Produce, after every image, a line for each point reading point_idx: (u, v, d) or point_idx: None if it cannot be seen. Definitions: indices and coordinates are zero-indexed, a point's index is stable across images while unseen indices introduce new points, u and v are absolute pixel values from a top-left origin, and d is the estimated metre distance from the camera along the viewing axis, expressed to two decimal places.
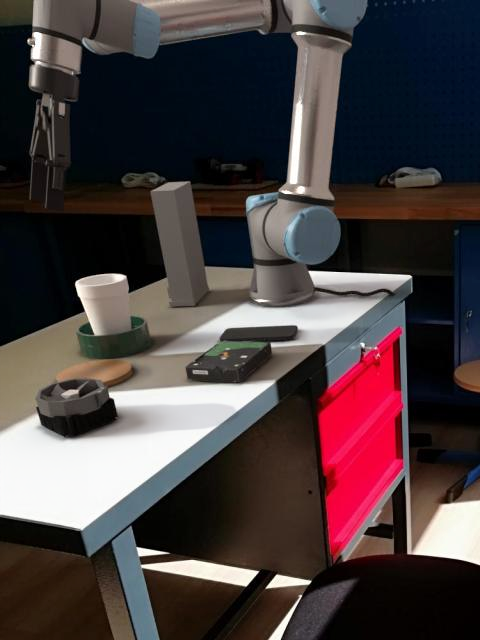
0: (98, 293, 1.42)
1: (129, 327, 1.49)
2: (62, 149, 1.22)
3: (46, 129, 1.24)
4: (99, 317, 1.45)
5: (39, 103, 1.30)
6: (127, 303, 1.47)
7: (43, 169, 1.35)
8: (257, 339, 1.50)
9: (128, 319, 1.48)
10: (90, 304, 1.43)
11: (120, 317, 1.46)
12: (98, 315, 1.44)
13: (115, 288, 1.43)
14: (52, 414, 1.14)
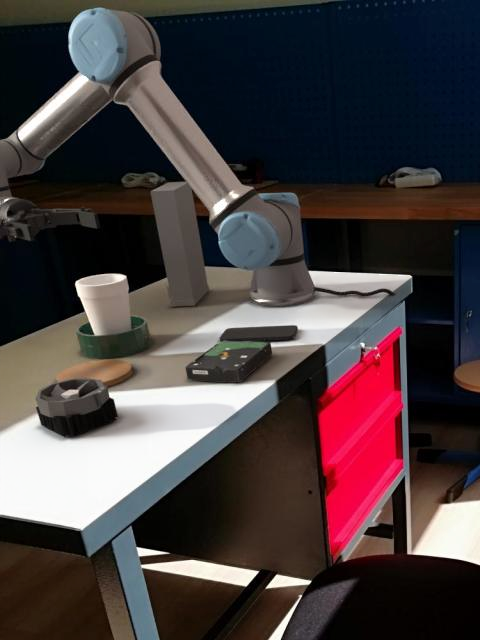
0: (98, 293, 1.42)
1: (129, 327, 1.49)
2: None
3: None
4: (99, 317, 1.45)
5: None
6: (127, 303, 1.47)
7: (81, 216, 1.53)
8: (257, 339, 1.50)
9: (128, 319, 1.48)
10: (90, 304, 1.43)
11: (120, 317, 1.46)
12: (98, 315, 1.44)
13: (115, 288, 1.43)
14: (52, 414, 1.14)
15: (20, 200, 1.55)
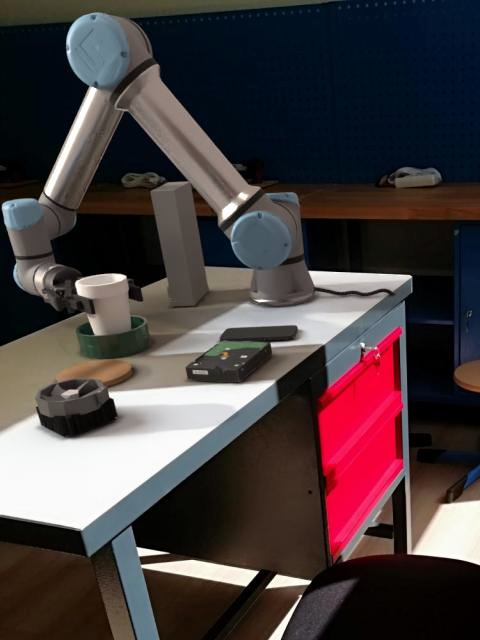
0: (98, 293, 1.42)
1: (129, 327, 1.49)
2: (53, 302, 1.45)
3: None
4: (99, 317, 1.45)
5: None
6: (127, 303, 1.47)
7: None
8: (257, 339, 1.50)
9: (128, 319, 1.48)
10: None
11: (120, 317, 1.46)
12: (98, 315, 1.44)
13: (115, 288, 1.43)
14: (52, 414, 1.14)
15: (66, 268, 1.53)
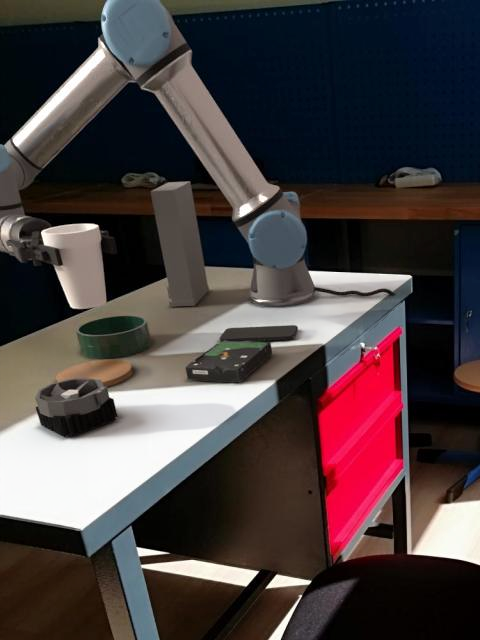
0: (66, 242, 1.28)
1: (102, 283, 1.35)
2: (17, 253, 1.31)
3: None
4: (68, 270, 1.31)
5: None
6: (99, 255, 1.33)
7: None
8: (257, 339, 1.50)
9: (101, 273, 1.34)
10: None
11: (91, 271, 1.32)
12: (66, 268, 1.30)
13: (85, 237, 1.29)
14: (52, 414, 1.14)
15: (34, 219, 1.40)
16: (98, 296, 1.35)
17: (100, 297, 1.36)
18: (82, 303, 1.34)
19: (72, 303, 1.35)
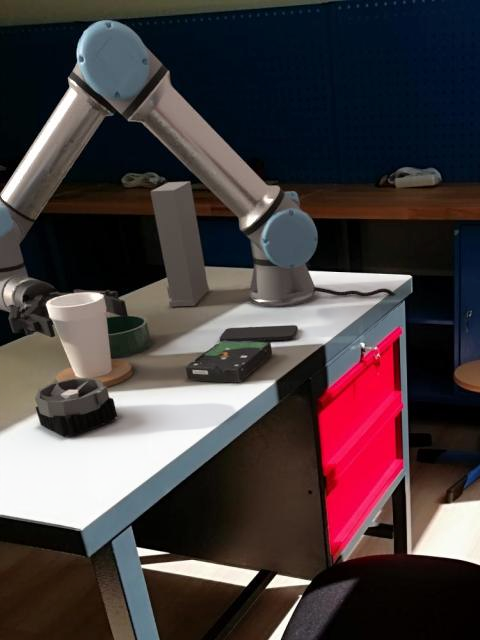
0: (71, 315, 1.27)
1: (107, 351, 1.34)
2: None
3: None
4: (73, 341, 1.30)
5: None
6: (104, 325, 1.32)
7: (105, 301, 1.37)
8: (257, 339, 1.50)
9: (106, 343, 1.33)
10: (62, 327, 1.29)
11: (97, 341, 1.31)
12: (72, 339, 1.30)
13: (90, 309, 1.28)
14: (51, 414, 1.14)
15: (37, 283, 1.39)
16: (103, 365, 1.34)
17: (105, 366, 1.35)
18: (87, 372, 1.33)
19: (77, 372, 1.34)
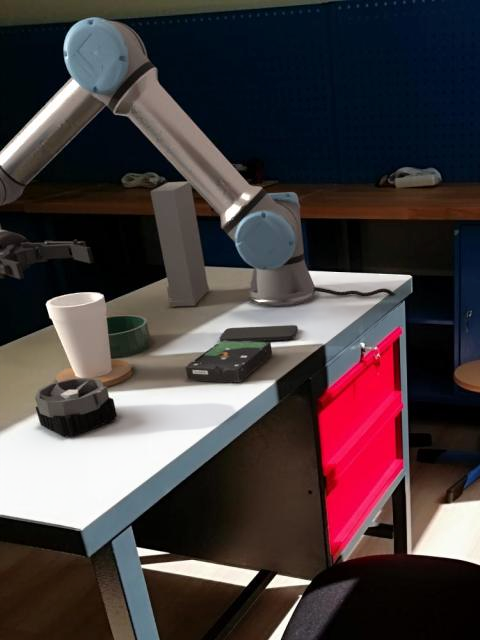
0: (71, 315, 1.27)
1: (107, 351, 1.34)
2: None
3: None
4: (73, 341, 1.30)
5: None
6: (104, 325, 1.32)
7: (73, 250, 1.46)
8: (257, 339, 1.50)
9: (106, 343, 1.33)
10: (62, 327, 1.29)
11: (97, 341, 1.31)
12: (72, 339, 1.30)
13: (90, 309, 1.28)
14: (51, 414, 1.14)
15: (9, 233, 1.48)
16: (103, 365, 1.34)
17: (105, 366, 1.35)
18: (87, 372, 1.33)
19: (77, 372, 1.34)
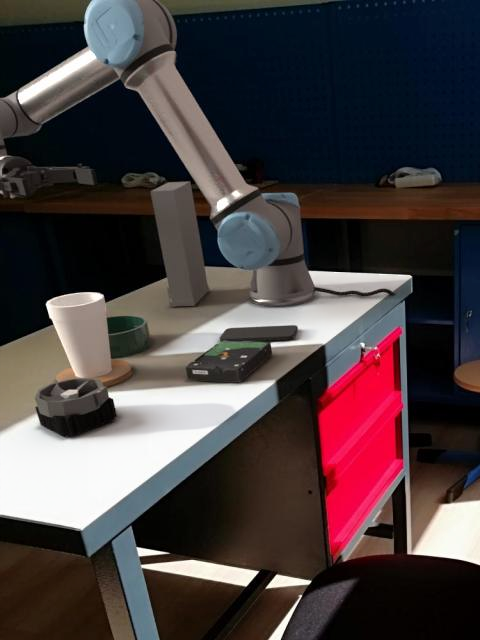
0: (71, 315, 1.27)
1: (107, 351, 1.34)
2: None
3: None
4: (73, 341, 1.30)
5: None
6: (104, 325, 1.32)
7: (77, 173, 1.49)
8: (257, 339, 1.50)
9: (106, 343, 1.33)
10: (62, 327, 1.29)
11: (97, 341, 1.31)
12: (72, 339, 1.30)
13: (90, 309, 1.28)
14: (51, 414, 1.14)
15: (16, 157, 1.51)
16: (103, 365, 1.34)
17: (105, 366, 1.35)
18: (87, 372, 1.33)
19: (77, 372, 1.34)
